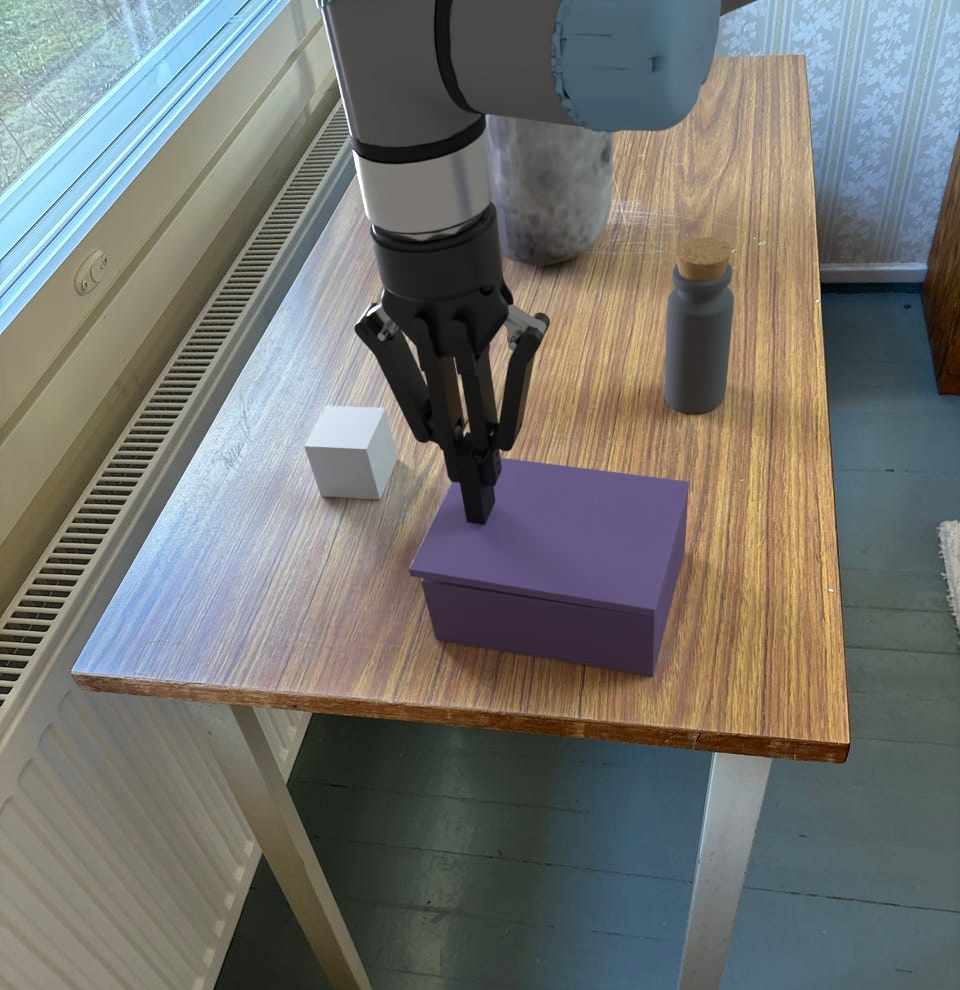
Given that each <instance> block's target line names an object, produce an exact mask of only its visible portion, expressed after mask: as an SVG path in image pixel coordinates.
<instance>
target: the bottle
mask: <svg viewBox="0 0 960 990" xmlns="http://www.w3.org/2000/svg"><path fill="white" fill-rule="evenodd" d="M732 253H733V252H732V246H731V245H730V244H729V242H727V241H726V240H724V239H722V238H718V237H714V236H697V237H692V238H689V239H687V240H684V241H682V242H681V243H680V244H679V245H678V246H676V249H675V259H676V264H675V265H674V267H673V269H672V272H671V273H672V275H671V281H672V285H673V286H674V288H673V289H672V290H671V291H670V292H669V293H668V296H667V304H666V326H665V327H666V328H665V356H664V357H665V359H664V361H665V362H664V400H665V402H666V404H667V405H668V406H669V407H670V408H671V409H673V410H675V411H677V412H680V413H684V414H689V415H690V414H691V415H692V414H693V415H694V414H695V415H696V414H704V413H708V412H711V411H713V410H715V409H717V408H718V407H720V406H721V405H722V404H723V402H724V400H725V397H726V392H727V391H726V390H727V384H728V383H727V382H728V373H729V363H730V349H731V339H732V330H733V329H732V327H733V317H734V303H735V297H734V293H733V291H732V289H730V287H729V284H731V281H732V279H733V267H732V265H731V263H730V258H731V255H732Z"/></svg>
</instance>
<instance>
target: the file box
mask: <svg viewBox="0 0 960 990" xmlns="http://www.w3.org/2000/svg"><path fill="white" fill-rule="evenodd" d="M688 505H689V492H688V493H687V496H686V500H685V504H684V508H683V511H682V515H681V519H680V523H679V526H678V530H677V534H676V538H675V542H674V545H673V549H672V553H671V557H670V560H669V564H668V568H667V572H666V575H665V579H664V583H663V587H662V590H661V594H660V598H659V602H658V606H657V609H656V613H655V616H654V617H651V616H645V615H639V614H633V613H627V612H621V611H615V610H609V609H603V608H597V607H591V606H585V605H579V604H573V603H567V602H561V601H555V600H549V599H543V598H537V597H532V596H526V595H520V594H514V593H508V592H502V591H496V590H490V589H484V588H478V587H472V586H466V585H460V584H454V583H448V582H442V581H436V580H430V579H424V578H422V580H421V586H422V590H423V595H424V598H425V602H426V606H427V610H428V614H429V618H430V623H431V626H432V630H433V633H434V638H435V640H437V641H441V642H447V643H453V644H459V645H465V646H471V647H477V648H482V649H488V650H493V651H494V650H495V651H499V652H507V653H511V654H517V655H522V656H523V655H524V656H530V657H535V658H541V659H546V660H552V661H558V662H564V663H569V664H575V665H576V664H577V665H582V666H589V667H593V668H599V669H606V670H611V671H617V672H623V673H627V674H634V675H640V676H647V677H651V678H653V677H654V674H655V671H656V667H657V663H658V659H659V655H660V652H661V651H660V650H661V647H662V644H663V639H664V634H665V630H666V627H667V624H668V619H669V615H670V611H671V607H672V604H673V599H674V596H675V592H676V588H677V584H678V580H679V576H680V572H681V568H682V564H683V560H684V556H685V553H686V541H687V538H686V537H687V524H688V522H687V521H688Z"/></svg>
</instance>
